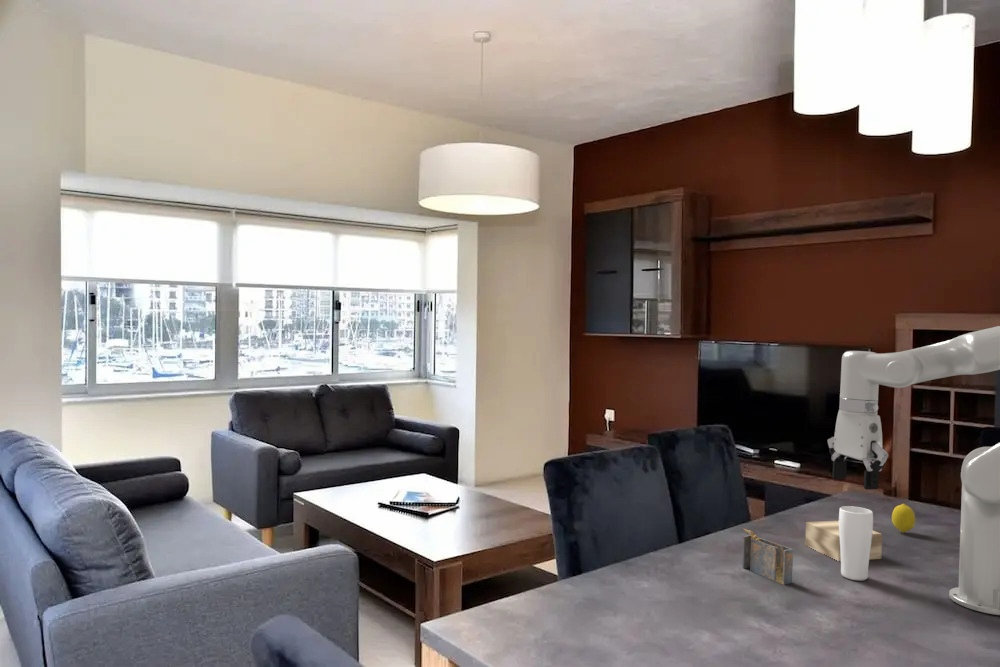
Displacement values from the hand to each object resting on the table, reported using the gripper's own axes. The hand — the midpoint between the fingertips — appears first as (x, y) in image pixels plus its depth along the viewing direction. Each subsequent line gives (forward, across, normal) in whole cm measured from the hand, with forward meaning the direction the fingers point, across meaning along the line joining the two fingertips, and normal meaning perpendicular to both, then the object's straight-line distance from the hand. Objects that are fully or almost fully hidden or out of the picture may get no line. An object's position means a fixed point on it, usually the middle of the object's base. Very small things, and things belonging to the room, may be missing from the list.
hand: (854, 483), depth 155 cm
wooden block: (+21, +15, -10) cm, 28 cm away
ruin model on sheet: (+22, +4, +18) cm, 29 cm away
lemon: (+21, +27, -40) cm, 52 cm away
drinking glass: (+21, -1, 0) cm, 21 cm away
